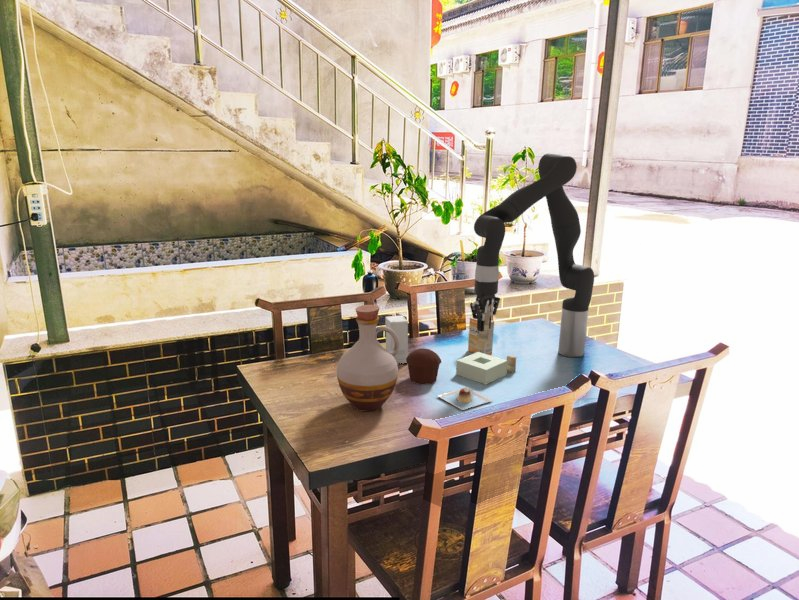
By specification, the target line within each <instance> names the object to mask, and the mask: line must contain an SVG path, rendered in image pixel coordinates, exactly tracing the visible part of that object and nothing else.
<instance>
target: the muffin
mask: <svg viewBox="0 0 799 600" xmlns="http://www.w3.org/2000/svg"><path fill="white" fill-rule="evenodd" d="M406 362H407V368H408V376H409V381H410V380H411V381H410V382H412V383H414V384H416V383H417V384H419V385H422V386H423V385H432V384H433V383H436V382H437V380H438V379H437V378H438V373H439V370H440V369H439V368H440V364H442V359H441V358H440V356H439V354H437V352H435V351H433V350H431V349H428V348H417V349H414V350H413V351H411V352H410V353H408V357H407V358H406ZM417 384H416V385H417Z"/></svg>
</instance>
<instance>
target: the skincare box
mask: <svg viewBox="0 0 799 600" xmlns="http://www.w3.org/2000/svg"><path fill="white" fill-rule="evenodd" d="M384 319H385V326H386V327H389V328H391V329H392V330H393V331H394V332H395V333H396V335H397V337H398V339H399V349H398V352H397V354H396V355H395V356H393V357H394V358H395V360H396V362H397V363H398V364H397V365H403V364H404V363H407V362H406V358H407V357H408V355H409V330H408V329H409V321H408V320H407V319H406V318H405V317H404V316H403V315H402V314H401V315H392V316H390V315H389V316H385V318H384ZM385 349H386V350H387V351H389V352H392V351H393V350H394V339H393V338H392V336H391V335H390V334H389V333H388V332H386V331H385ZM399 363H400V364H399ZM401 363H402V364H401ZM404 365H405V364H404Z"/></svg>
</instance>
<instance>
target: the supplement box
mask: <svg viewBox="0 0 799 600" xmlns="http://www.w3.org/2000/svg"><path fill="white" fill-rule="evenodd" d="M468 326H469V327H468V329H469V330H468V342H467V343H468V344H467V345H468V346H467V351H468V352H470V353H472V354H474V353H476V352H481V353H484V354H487V355H491V356H492V355H493V345H494V330H495V320H492V319H491V328H490V329H489V337H488V341H486V342H483V341H479V331H478V330H477V319H474V318H473V316H470V317H469V325H468Z"/></svg>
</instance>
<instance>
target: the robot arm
mask: <svg viewBox="0 0 799 600" xmlns="http://www.w3.org/2000/svg"><path fill="white" fill-rule="evenodd" d="M577 168H578V166H577V161H576V159H574V157H572V156H570V155H567V154H562V153H554V152H553V153H551V152H550V153H545V154H543V155H542V156H541V158H540V160H539V162H538V175H539V179H537V180H536V181H533V182H531V183H530V184H527V185H525V186H522V187H521V188H519V189H517V190H516V191H514V192H512V193H511V194H510V195H508V197H506V198H505V199H504V200H502V201H501V203H500V204H498V205H496V206H494V207H492V208H490V209H488V210H487V211H484V212H483V213H482V214H481V215H479V216H478V217H477V219H475V221H474V225H473V230H474V231H473V232H474V233H475V234H476V235H477V236H479V237H481V238H485V240H484V244H483V245H480V246H478V248H477V251H476V263H475V265H476V267H475V270H474V271H475V272H474V287H473V289H474V290H473V291H474V293H475V294H476V298H475V301H474V302H470V303H469V306H470V310H471V311H470V312H471V315H472V316H471V317H473V318H474V319H477V330H478V331H481V332H482V331H484V318H485V314H486V313H487V308H488V305H490V320H489V329H490V328H491V320H492V318H493V316H496V314H497V312H498V307H499V303H500V301H501V298H500V297H498V296H496V294H498V293H499V291H498V290H499V277H500V274H499V273H500V270H499V268H500V267H499V263H500V261H499V260H500V251H501V248H502V245H503V243H504V238H505V235H506V225H505V224H506V223H507V224H508V223H512V222H514V221H516V220H517V219H518V218H520V216H521V215H523V214H524V213H525V212H526V211H527V210H528V209H530V208H531V207H532V206H533V205H535V204H537V202H539V201H540V200H542V199H543V198H545V200H546V203H547V208H548V213H549V216H550V224H551V228H552V234H553V237H554V242H555V248H556V254H557V262H558V263H557V264H558V265H557V266H558V267H557V268H558V275H559V280H560V284H561V286H562V287H563V288H565V289H568V290H572V291H575V294H574V297H568V298H565V299H563V300H562V303H561V304H562V306H561V315H560V316H561V317H560V318H561V319H560V329H559V339H558V340H559V342H558V350H557V351H558V353H559V355H562V356H564V357H568V358H579V357H580V358H581V357H583V356H584V355H585V348H586V339H587V329H588V318H589V317H588V316H589V307H590V305H591V301H592V298H593V297H592V296H593V288H594V283H595V273H594V269H593V268H592V267H590V266H586V265H581V264H576V262H575V260H574V259H575V258H574V249H575V247H576V245H577V244H578V242H579V239H580V236H581V234H582V233H581V232H582V230H581V225H580V223H581V222H580V218H579V213H578V211H577V209H576V208H575V205H574V204H573V203H572V202H571V200H570V199H569V196H568V195H567V194H566V191H565V189H564V185H566V184H568V183H569V182H570V181H572V179H573V178H574V176H575V175H576V174H577ZM480 309H482V310H484V311H482V310H480ZM480 313H482V316H481V314H480Z"/></svg>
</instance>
